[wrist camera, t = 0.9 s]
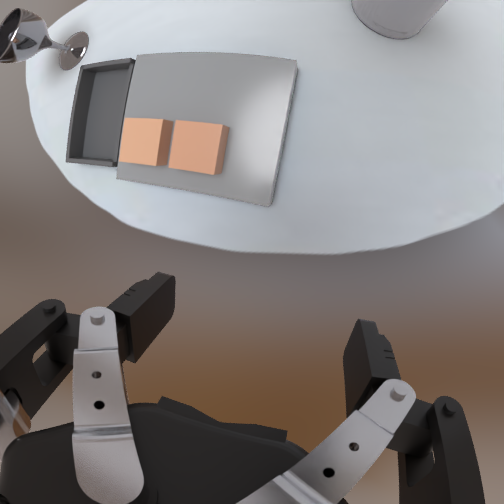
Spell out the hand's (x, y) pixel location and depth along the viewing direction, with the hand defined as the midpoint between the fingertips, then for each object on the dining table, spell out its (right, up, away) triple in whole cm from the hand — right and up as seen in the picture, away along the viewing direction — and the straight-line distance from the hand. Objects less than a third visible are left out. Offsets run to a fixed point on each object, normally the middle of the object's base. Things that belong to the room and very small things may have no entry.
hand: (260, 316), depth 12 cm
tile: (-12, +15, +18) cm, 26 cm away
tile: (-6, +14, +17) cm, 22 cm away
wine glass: (-29, +35, +18) cm, 49 cm away
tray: (-20, +22, +20) cm, 36 cm away
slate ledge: (-6, +18, +19) cm, 27 cm away
